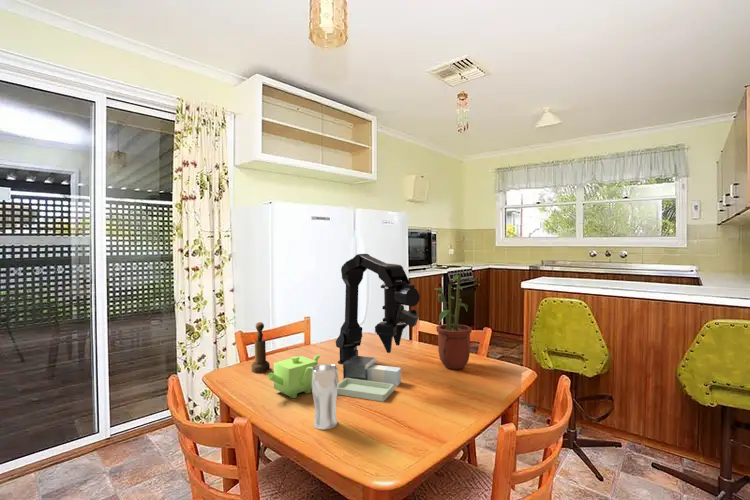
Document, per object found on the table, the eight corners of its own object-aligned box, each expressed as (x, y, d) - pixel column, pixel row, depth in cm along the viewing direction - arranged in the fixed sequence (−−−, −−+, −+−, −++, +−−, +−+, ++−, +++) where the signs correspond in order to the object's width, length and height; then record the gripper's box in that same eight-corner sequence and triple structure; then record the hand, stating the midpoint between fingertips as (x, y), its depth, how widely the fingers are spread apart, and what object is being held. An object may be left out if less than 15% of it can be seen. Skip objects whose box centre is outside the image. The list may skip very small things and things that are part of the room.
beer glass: (313, 418, 103) (312, 363, 103) (339, 417, 104) (338, 362, 103) (311, 431, 96) (310, 372, 96) (338, 430, 97) (337, 371, 96)
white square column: (359, 381, 130) (359, 367, 130) (364, 377, 134) (364, 363, 134) (397, 386, 125) (397, 371, 125) (401, 382, 129) (400, 367, 129)
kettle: (322, 382, 129) (321, 350, 129) (317, 400, 115) (316, 363, 115) (278, 383, 129) (277, 350, 129) (267, 401, 115) (266, 364, 114)
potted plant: (478, 366, 144) (478, 274, 143) (455, 377, 133) (454, 277, 133) (440, 356, 157) (440, 272, 156) (416, 365, 146) (415, 274, 145)
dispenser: (343, 382, 130) (343, 362, 130) (354, 373, 138) (354, 355, 138) (366, 385, 126) (366, 365, 126) (376, 376, 135) (376, 357, 135)
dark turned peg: (247, 371, 141) (246, 323, 141) (259, 366, 147) (258, 320, 147) (262, 373, 139) (261, 324, 138) (273, 368, 145) (272, 321, 144)
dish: (333, 393, 120) (332, 387, 120) (346, 383, 128) (345, 377, 128) (384, 401, 113) (384, 395, 113) (394, 390, 122) (394, 384, 122)
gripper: (408, 308, 116) (408, 359, 116) (423, 299, 133) (423, 343, 133) (374, 306, 120) (374, 355, 120) (393, 298, 137) (393, 341, 137)
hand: (393, 348), depth 128 cm, fingers open, 9 cm apart
